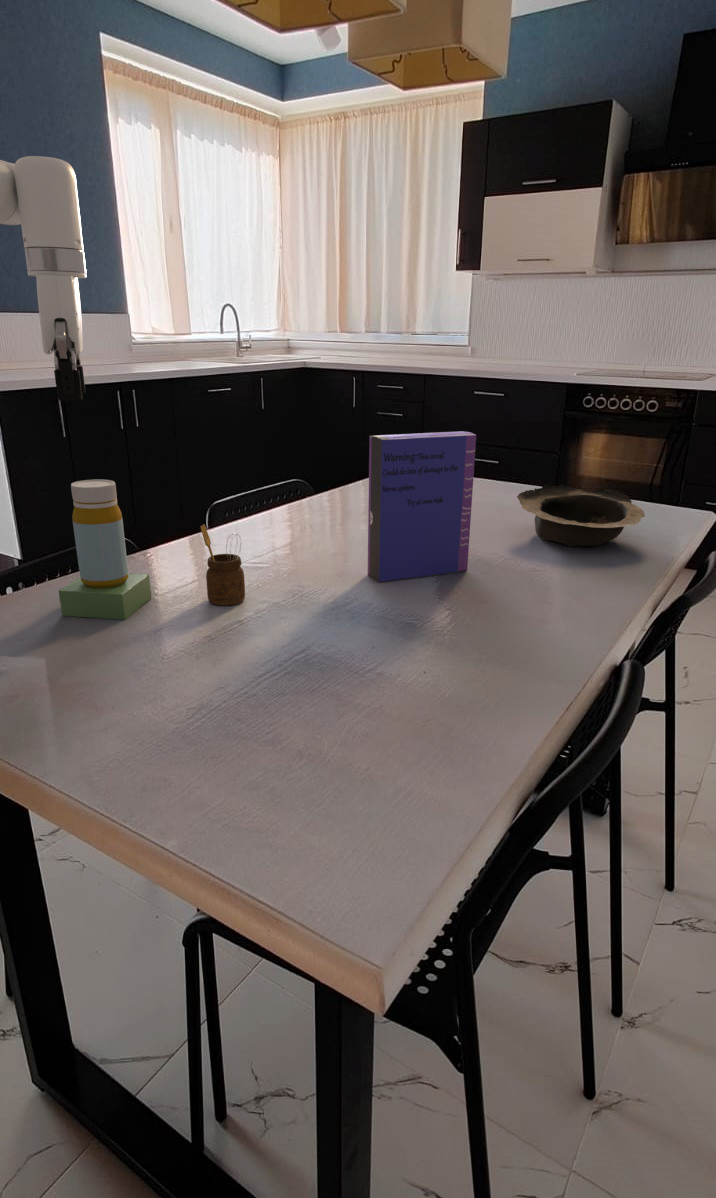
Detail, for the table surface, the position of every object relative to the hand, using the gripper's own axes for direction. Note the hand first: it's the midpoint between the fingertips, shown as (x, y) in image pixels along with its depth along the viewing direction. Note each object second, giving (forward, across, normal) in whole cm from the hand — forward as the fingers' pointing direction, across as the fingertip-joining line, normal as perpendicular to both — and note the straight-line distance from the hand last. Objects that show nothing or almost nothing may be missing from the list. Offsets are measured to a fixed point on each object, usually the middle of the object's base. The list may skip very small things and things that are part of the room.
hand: (72, 397), depth 111 cm
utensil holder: (+31, +7, +20) cm, 37 cm away
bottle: (+27, +5, +2) cm, 27 cm away
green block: (+31, +5, +2) cm, 31 cm away
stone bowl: (+30, -14, +95) cm, 101 cm away
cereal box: (+30, 0, +54) cm, 62 cm away
